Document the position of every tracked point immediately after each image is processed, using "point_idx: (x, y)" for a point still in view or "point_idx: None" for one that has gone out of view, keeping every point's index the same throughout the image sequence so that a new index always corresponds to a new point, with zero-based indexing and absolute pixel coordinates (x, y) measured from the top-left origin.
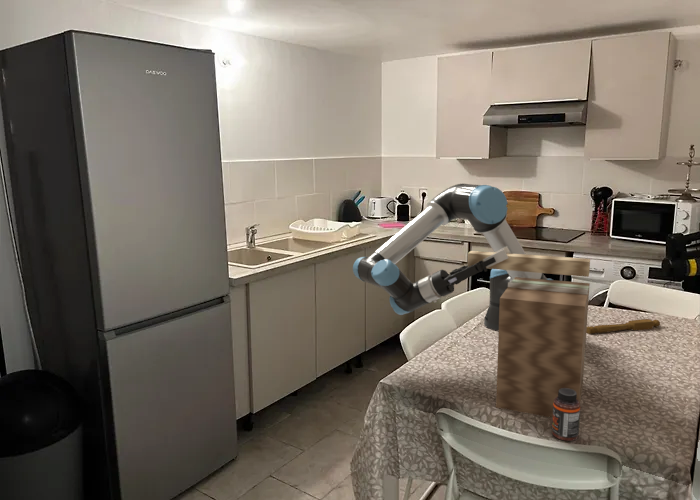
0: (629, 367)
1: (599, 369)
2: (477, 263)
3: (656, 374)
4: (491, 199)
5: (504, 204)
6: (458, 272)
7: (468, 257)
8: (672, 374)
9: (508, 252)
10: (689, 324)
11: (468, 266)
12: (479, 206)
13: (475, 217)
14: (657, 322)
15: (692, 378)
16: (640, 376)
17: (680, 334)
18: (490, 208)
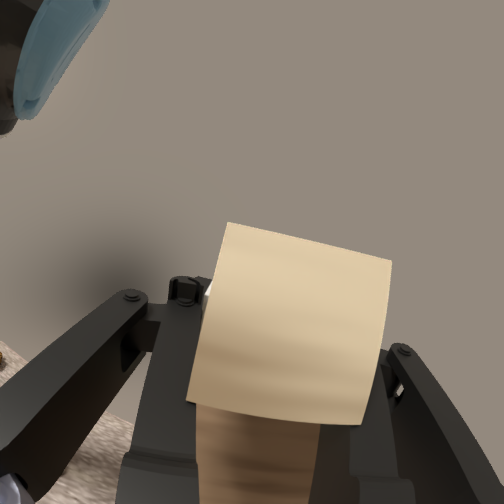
0: (96, 441)
1: (101, 467)
2: (408, 347)
3: (118, 436)
4: (86, 33)
5: (57, 80)
6: (475, 468)
7: (383, 311)
8: (118, 427)
9: None
10: (8, 348)
11: (357, 416)
12: (92, 9)
13: (21, 32)
14: (1, 354)
15: (128, 423)
16: (125, 448)
17: (23, 365)
18: (69, 52)
